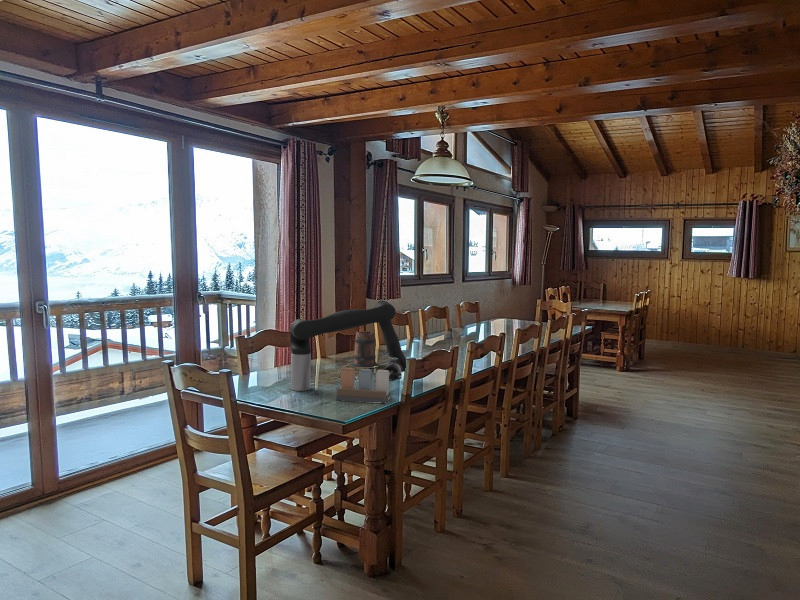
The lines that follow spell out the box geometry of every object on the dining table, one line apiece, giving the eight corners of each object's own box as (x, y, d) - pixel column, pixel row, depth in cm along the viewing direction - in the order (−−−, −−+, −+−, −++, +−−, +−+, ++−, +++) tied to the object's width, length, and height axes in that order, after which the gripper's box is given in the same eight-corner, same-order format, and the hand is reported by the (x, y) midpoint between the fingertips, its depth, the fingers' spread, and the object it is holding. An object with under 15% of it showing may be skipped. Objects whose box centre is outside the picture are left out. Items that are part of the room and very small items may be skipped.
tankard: (352, 362, 327) (352, 329, 326) (380, 363, 326) (380, 330, 325) (346, 370, 304) (347, 335, 302) (376, 371, 303) (377, 336, 301)
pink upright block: (343, 390, 250) (344, 367, 249) (354, 390, 249) (354, 368, 248) (341, 392, 246) (341, 369, 245) (351, 392, 245) (352, 369, 244)
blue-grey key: (360, 391, 248) (361, 368, 248) (371, 392, 247) (371, 369, 247) (358, 393, 244) (358, 370, 244) (369, 394, 243) (369, 370, 243)
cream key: (377, 392, 247) (378, 369, 246) (388, 393, 246) (389, 370, 245) (375, 394, 243) (376, 371, 242) (386, 395, 242) (387, 372, 241)
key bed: (343, 393, 252) (344, 383, 252) (390, 397, 248) (390, 386, 248) (336, 400, 240) (336, 389, 240) (384, 404, 236) (385, 392, 236)
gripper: (379, 363, 267) (371, 370, 250) (405, 365, 264) (399, 372, 247) (378, 378, 267) (370, 386, 250) (405, 380, 265) (398, 388, 248)
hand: (384, 379), depth 249 cm, fingers closed
